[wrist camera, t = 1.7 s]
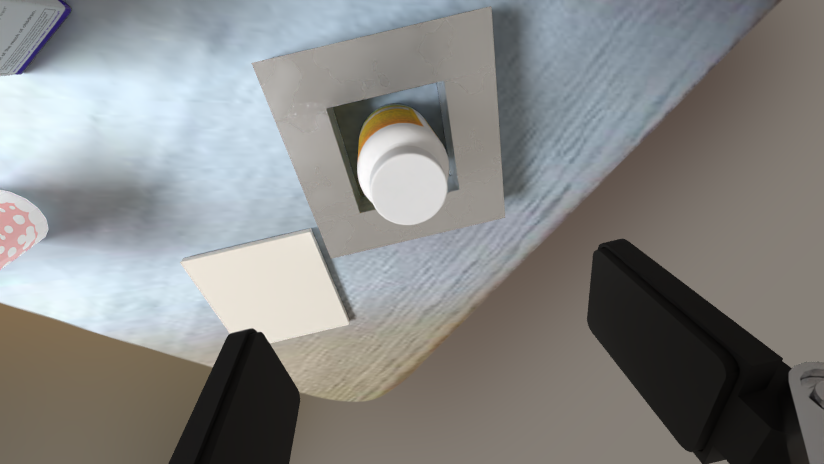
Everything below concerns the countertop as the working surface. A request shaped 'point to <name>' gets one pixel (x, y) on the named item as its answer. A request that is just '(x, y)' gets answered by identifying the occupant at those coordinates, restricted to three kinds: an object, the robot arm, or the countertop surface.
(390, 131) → the supplement bottle
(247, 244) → the plastic mat
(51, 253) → the countertop surface
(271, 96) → the concrete holder
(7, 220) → the beverage cup
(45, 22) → the supplement box
